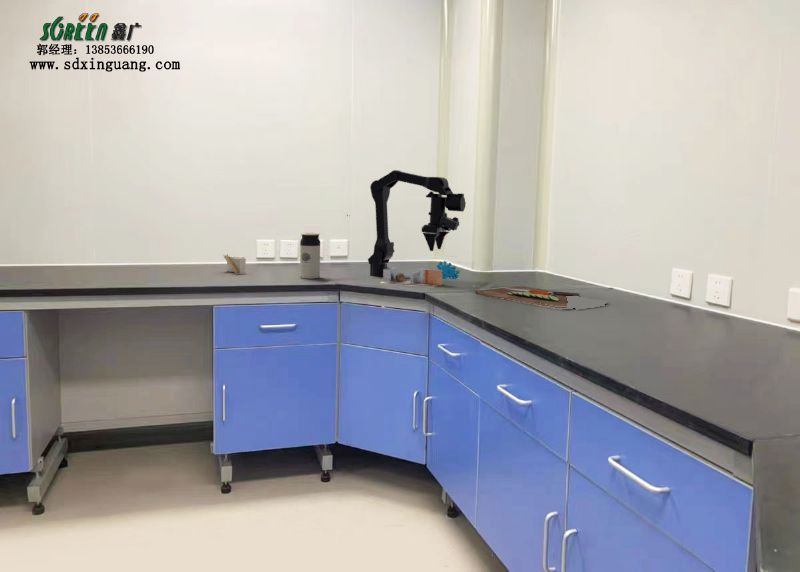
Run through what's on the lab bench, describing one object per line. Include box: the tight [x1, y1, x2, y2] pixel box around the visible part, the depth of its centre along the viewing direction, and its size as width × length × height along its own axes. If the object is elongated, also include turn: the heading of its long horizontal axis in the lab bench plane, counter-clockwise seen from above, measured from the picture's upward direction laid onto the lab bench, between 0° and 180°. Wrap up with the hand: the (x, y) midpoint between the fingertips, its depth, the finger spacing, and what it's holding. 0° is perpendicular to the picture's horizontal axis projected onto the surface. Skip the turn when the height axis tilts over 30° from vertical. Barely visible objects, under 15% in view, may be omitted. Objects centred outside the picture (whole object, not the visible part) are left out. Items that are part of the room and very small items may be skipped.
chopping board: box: [475, 285, 581, 308], centre depth 238 cm, size 45×27×3 cm, turn 38°
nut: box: [395, 272, 406, 282], centre depth 259 cm, size 4×4×4 cm
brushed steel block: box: [382, 266, 400, 284], centre depth 260 cm, size 3×8×5 cm, turn 158°
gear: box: [436, 260, 461, 280], centre depth 278 cm, size 11×6×10 cm
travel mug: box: [299, 232, 321, 280], centre depth 272 cm, size 8×8×18 cm
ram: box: [410, 268, 443, 287], centre depth 255 cm, size 10×7×5 cm
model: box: [222, 254, 247, 275], centre depth 282 cm, size 3×11×8 cm, turn 57°
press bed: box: [379, 278, 444, 289], centre depth 257 cm, size 22×12×2 cm, turn 68°
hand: (435, 250), depth 264 cm, fingers open, 9 cm apart
